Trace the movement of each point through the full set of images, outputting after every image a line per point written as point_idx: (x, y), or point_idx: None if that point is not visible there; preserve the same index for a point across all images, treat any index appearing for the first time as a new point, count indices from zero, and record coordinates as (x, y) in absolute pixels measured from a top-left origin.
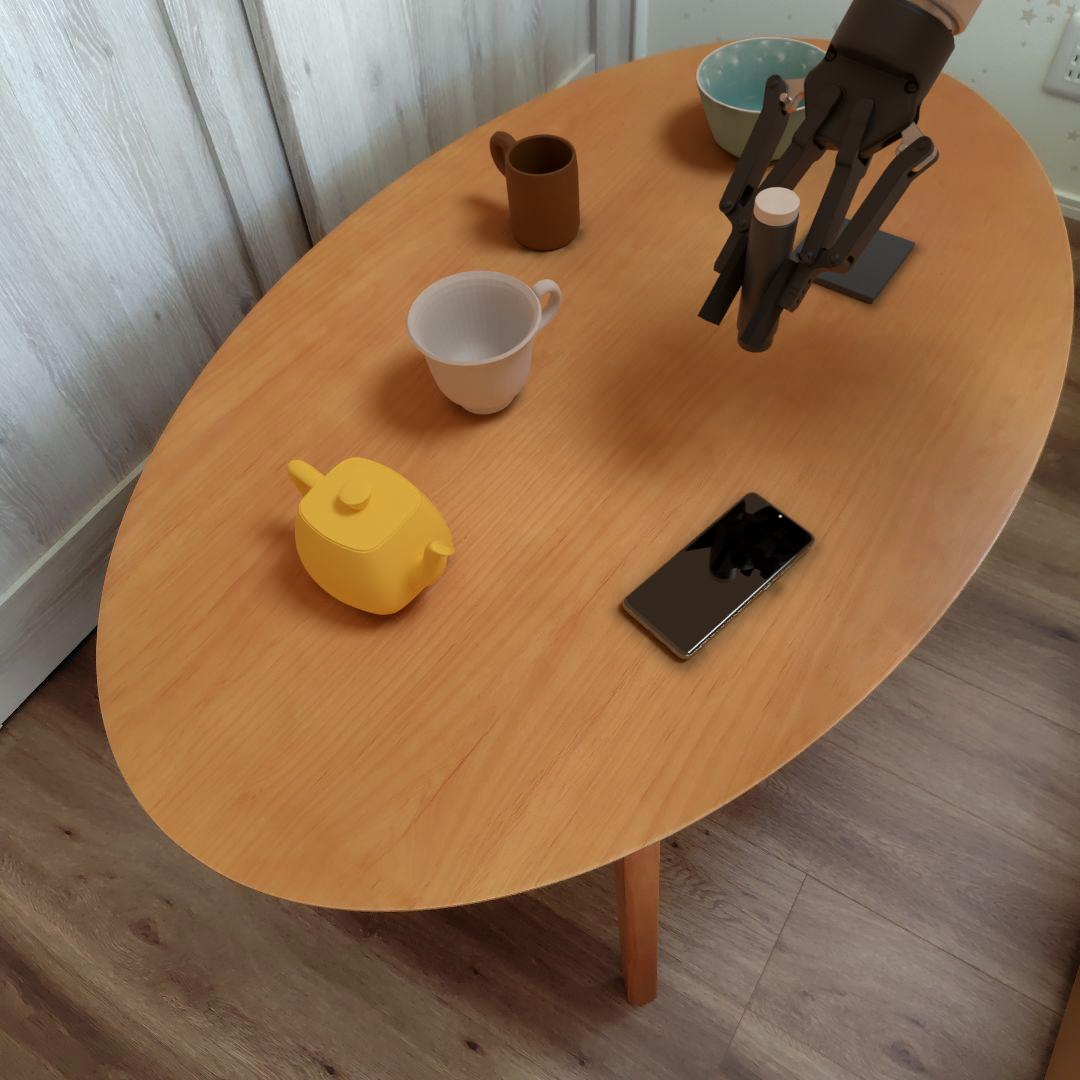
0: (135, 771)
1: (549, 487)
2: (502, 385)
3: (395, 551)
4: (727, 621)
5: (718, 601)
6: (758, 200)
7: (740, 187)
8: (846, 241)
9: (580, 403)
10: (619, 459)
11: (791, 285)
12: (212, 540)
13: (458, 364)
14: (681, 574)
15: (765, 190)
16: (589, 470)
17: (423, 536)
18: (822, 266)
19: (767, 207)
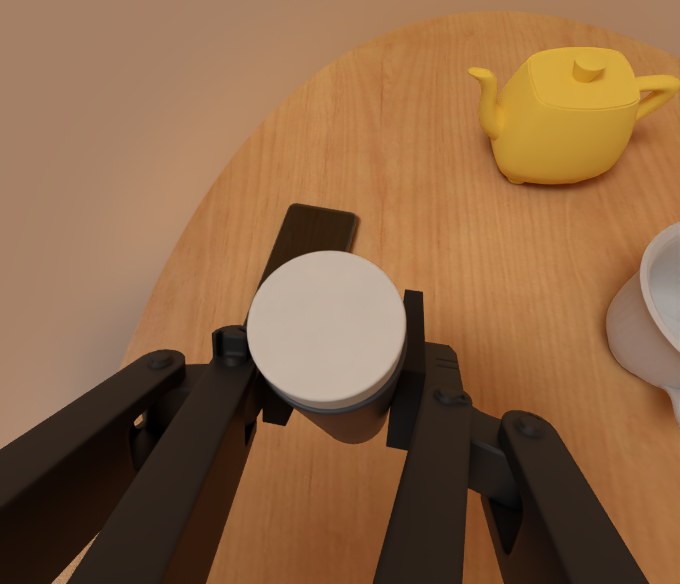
0: (534, 14)
1: (487, 280)
2: (620, 294)
3: (517, 82)
4: (275, 241)
5: (288, 250)
6: (383, 285)
7: (530, 471)
8: (120, 386)
9: (546, 389)
10: (454, 343)
11: None
12: (667, 109)
13: (675, 223)
14: None
15: (392, 349)
16: (470, 316)
17: (514, 111)
18: (199, 366)
19: (338, 268)
